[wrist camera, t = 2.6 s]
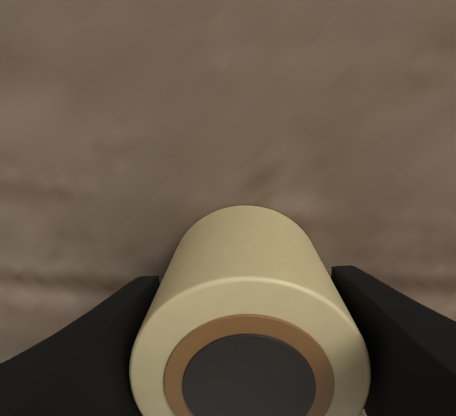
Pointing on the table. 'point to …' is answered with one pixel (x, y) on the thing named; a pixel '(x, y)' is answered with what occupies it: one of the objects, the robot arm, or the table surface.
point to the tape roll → (248, 327)
